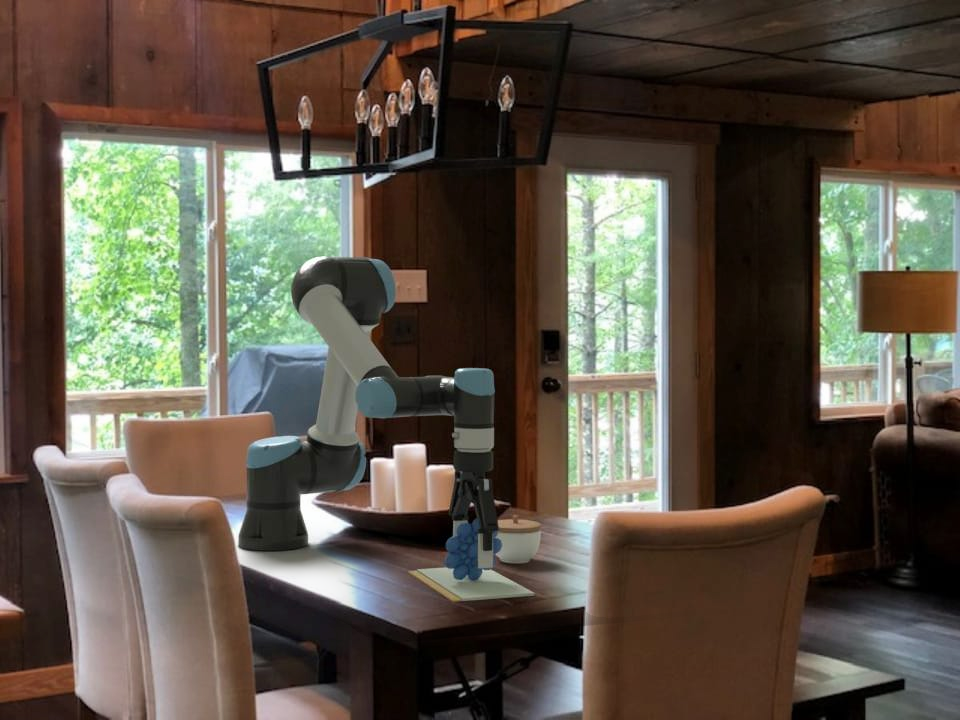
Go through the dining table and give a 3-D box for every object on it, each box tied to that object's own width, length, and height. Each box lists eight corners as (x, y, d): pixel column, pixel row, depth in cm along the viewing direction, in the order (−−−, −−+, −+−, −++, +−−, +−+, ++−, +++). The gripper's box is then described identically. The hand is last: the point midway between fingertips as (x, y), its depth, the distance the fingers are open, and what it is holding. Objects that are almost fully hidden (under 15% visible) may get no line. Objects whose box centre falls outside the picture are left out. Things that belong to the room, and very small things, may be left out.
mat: (416, 571, 247) (416, 569, 247) (482, 567, 252) (482, 565, 252) (462, 601, 223) (462, 598, 223) (534, 595, 228) (534, 592, 228)
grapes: (492, 574, 244) (493, 513, 244) (506, 580, 237) (506, 517, 237) (436, 578, 239) (437, 516, 239) (448, 584, 233) (449, 520, 233)
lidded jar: (541, 566, 254) (542, 520, 254) (489, 565, 255) (489, 519, 254) (540, 555, 265) (540, 512, 265) (489, 555, 265) (490, 511, 265)
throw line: (408, 572, 247) (408, 571, 247) (415, 572, 247) (415, 570, 247) (453, 601, 222) (453, 600, 222) (460, 601, 223) (461, 599, 223)
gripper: (433, 443, 247) (432, 549, 248) (478, 457, 224) (477, 575, 225) (468, 442, 250) (467, 547, 251) (517, 456, 227) (515, 572, 228)
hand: (472, 560), depth 238 cm, fingers open, 13 cm apart
